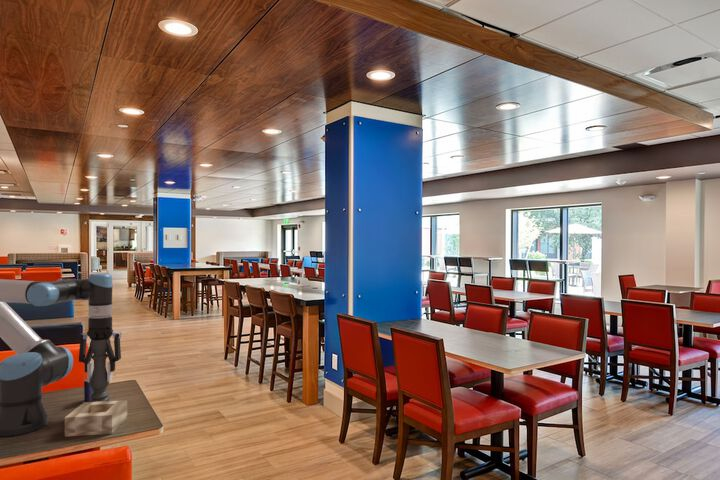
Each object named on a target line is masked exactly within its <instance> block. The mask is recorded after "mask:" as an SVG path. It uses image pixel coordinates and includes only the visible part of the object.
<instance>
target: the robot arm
mask: <svg viewBox="0 0 720 480" xmlns="http://www.w3.org/2000/svg"><path fill="white" fill-rule="evenodd" d="M113 287H114V285H113V276H112V274H110V273H105V272H103V273H102V272H101V273H98V272H97V273H90V274H88V278H68V277H67V278H61V279H60V278H59V279H57V280H55V281H36V280H35V281H34V280H20V279H5V278H4V279H3V278H0V338H1V340H2V341H3V342H4V343H5V344H6V345H7V346H8V347H9V349H11V350H12V351H13V352H14V353H15V354H13V355H11V356H8V357H6V358H4V359H3V360H1V361H0V437H11V436H12V435H14V436H19V435H23V434H27V433H31V432H34V431H37V430H40V429H42V428H43V427H45V426H46V425H47V424H48V422H49V415H48V413H47V410H46V408H45V405H44V403H43V398H42V397H43V395H42V393H43V392H42V391H43V390H42V389H43V388H44V387H46V386H48V385H51V384H53V383H55V382H58V381H60V380H61V379H63V378H66V377H67V376H68V375H69V373H70V372H71V371H72V369H73V366H74V357H73V353H72V352H71V351H70V350H69V349H68V348H67V347H64V346H60V345H59V346H58V345H57V346H56V345H55V344H54V343H53V342H52V340H50V339H42V337H40V336H39V335H38V333H37V332H35V330H33V329H32V327H31V326H30V325H28V324H27V322H26V321H25V320H24V319H23V318H22V317H21V316H20V315H19V314H18V313H17V312H16V311H15V310H14V309H13V308H12V307H11V306H9V304H8V303H14V304H32V305H33V306H34V307H47V306H50V305H56V304H60V303H65V302H70V301H88V316H89V318H88V320H87V321H88V323H87V324H88V326H87V328H88V330H87V332H83V333H81V334H78V339H79V351H78V362H79V363H83V364H84V373H86V376H87V377H86V380H87V382H90V380H91V377H92V373H93V369H94V361H92V356H93V355H94V354H93V352H92V349H91V340H96V339H102V340H106V339H109V342H108V343H107V341H106V345H107V348H106V354H107V355H108V357H107V358H108V361H109V362H108V363H106V370H107V382H109V383H110V382H111V381H112V380H113V372H115V371H116V362H118V361H120V360H121V359H122V348H121V336H122V332H115V331H114V330H113V317H112V315H113ZM88 337H89V339H90V342H89V346H88V350H87V343H88V342H87V339H88ZM111 337H112V338H113V346H114V350H113V347H112V345H111ZM86 351H87V352H86ZM12 437H13V436H12Z"/></svg>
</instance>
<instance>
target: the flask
mask: <svg viewBox="0 0 720 480" xmlns="http://www.w3.org/2000/svg"><path fill="white" fill-rule="evenodd" d="M83 391H84V393H83V395H84V396H83V397H84V398H83V399H84V401H83V403H84V402H90V400H91V399H92V398H91V395H92V393H93V392H94V391H93V389H92V388H91V386H90V382H87V379H84V382H83Z"/></svg>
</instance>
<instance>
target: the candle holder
mask: <svg viewBox="0 0 720 480" xmlns="http://www.w3.org/2000/svg"><path fill="white" fill-rule="evenodd" d="M106 341H107V343H108V342H109V339H106V340H102V339H96V340H91V339H90V342H91V349H92V352H93V355H92V358H91V360H93V373H92V377H91V380H90V386H91V388H92V389H93V391H94V392H93V393H92V395H91V398H92V399H91V400H90V402H100V401H110V396H109V392H108V391H107V387H108V386H109V384H110V382H107V358H108V355H107V352H106V348H107V345H106Z"/></svg>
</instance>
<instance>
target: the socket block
mask: <svg viewBox="0 0 720 480" xmlns="http://www.w3.org/2000/svg"><path fill="white" fill-rule="evenodd" d="M127 418H128V399H127V400H126V399H125V400H109V401H100V402H84V401H83V402H82V403H81V404H80V405H78V406H77V407H76V408H75V409H74V410H73V411H71V412H70V413H69V414H68V415H66V416H64V437H78V436H94V435H95V436H96V435H113V433H114V432H115V431H116V430H117V429H118V428H119V427H120V426H121V425H122V424H123V423H124V421H125V420H126V419H127Z"/></svg>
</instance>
